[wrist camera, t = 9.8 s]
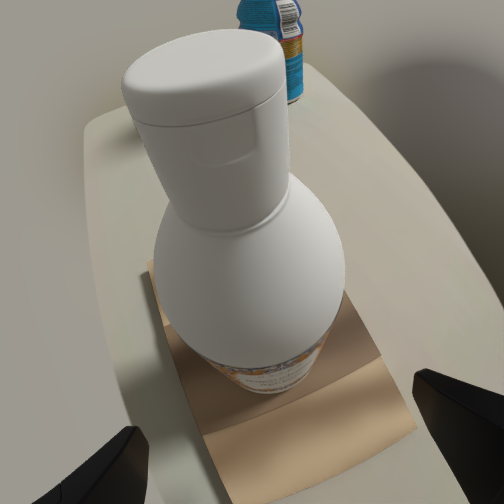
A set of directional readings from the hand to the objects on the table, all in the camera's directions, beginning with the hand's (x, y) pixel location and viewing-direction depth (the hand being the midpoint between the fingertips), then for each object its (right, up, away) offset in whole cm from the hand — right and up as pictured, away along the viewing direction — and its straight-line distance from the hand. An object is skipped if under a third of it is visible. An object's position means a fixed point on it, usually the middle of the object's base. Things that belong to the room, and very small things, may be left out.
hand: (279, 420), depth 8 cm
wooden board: (+1, -2, +14) cm, 15 cm away
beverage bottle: (+3, +28, +33) cm, 44 cm away
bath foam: (0, -2, +13) cm, 14 cm away
